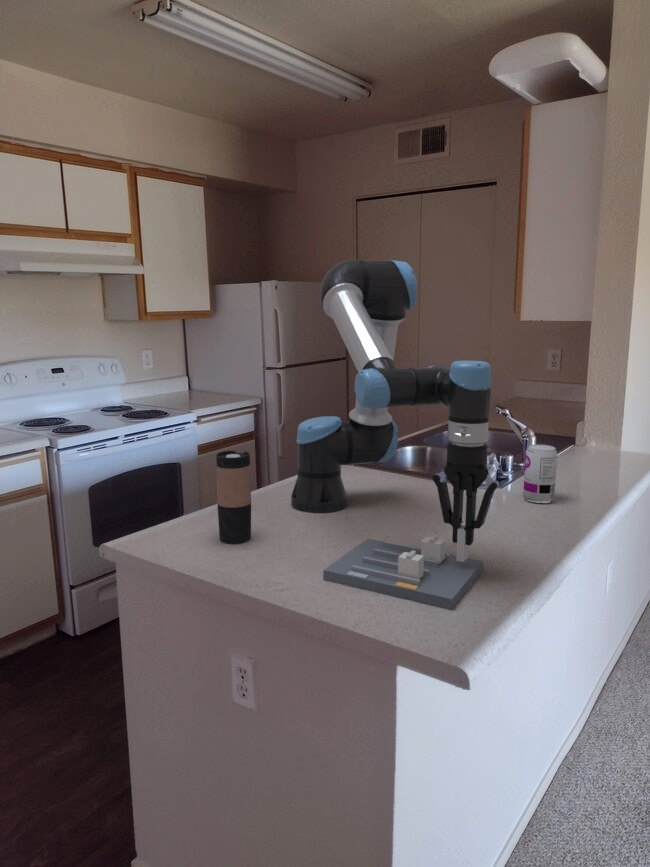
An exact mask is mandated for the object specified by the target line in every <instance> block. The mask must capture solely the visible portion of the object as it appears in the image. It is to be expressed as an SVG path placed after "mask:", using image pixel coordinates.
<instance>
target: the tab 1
mask: <svg viewBox="0 0 650 867" xmlns="http://www.w3.org/2000/svg"><path fill="white" fill-rule="evenodd" d="M423 571H424V556H423V555H418V554H416V551H413V550H412V551H411V552H410V553H408V552H403V553H402V554H401V555H400V556H399V557H398V575H401V576H406V577H410V578H415V579H420V578H421V577H422V576H423Z"/></svg>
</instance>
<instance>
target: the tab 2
mask: <svg viewBox="0 0 650 867" xmlns="http://www.w3.org/2000/svg"><path fill="white" fill-rule="evenodd" d="M420 542H421V544H420V546H421V547H420V548H421V555H423V556H424V559H429V560H434V561H439V564H440V563H441V562H442V561H443V560H444V559H445V553H446V539H441V538H439V535H435V534H434V535H432V536H431V537H430V536H426V537H424V539H422V540H421V541H420Z"/></svg>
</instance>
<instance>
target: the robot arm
mask: <svg viewBox="0 0 650 867" xmlns="http://www.w3.org/2000/svg"><path fill="white" fill-rule="evenodd" d="M418 289H419V288H418V282H417V276H416V275H415V271H414V269H413V267H412V266H411V265H410V264H409V263H408V262H406V261H401V260H395V259H346V260H342V261H341V262H338V263H337V264H335V265H333V267H331V268H330V269H329V270H328V271H327V273H326V274H325V276H324V277H323V279H322V281H321V284H320V288H319V301H320V304H321V307H322V309H323V311H324V313H325V314H326V316H327V317H329V318H331V319H332V320H333V322H334V324H335V326H336V328H337V330H338V332H339V335H340V337H341V338H342V340H343V343H344V345H345V347H346V349H347V352H348V354H349V356H350V358H351V360H352V362H353V365H354V366H355V369H356V370H357V373H356V376H355V378H354V393H355V404H354V405H355V407H354V408H353V409H351V411H349V413H348V421H342V419H341V418H340V417H339V416H333V415H331V416H317V417H313V418H309V419H306V420H304V421H302V422H300V423H299V425H298V427H297V434H296V444H297V445H296V447H297V449H296V452H297V453H296V454H297V459H296V460H297V462H296V463H297V468H296V469H297V478H296V480H295V483H294V487H293V489H292V493H291V498H290V501H291V502H290V505H291V507H292V508H294V509H296V510H299V511H301V512H302V511H303V512H309V513H330V512H336V511H340V510H343V509H345V507H347V506H348V494H347V492H346V491H347V490H346V489H345V486H344V482H343V479H342V471H341V470H342V466H348V465H349V466H350V465H361V464H362V465H364V464H378V463H382V462H387V461H389V460H390V459H392V457H394V455H395V452H397V447H398V444H399V435H398V432H399V430H398V426H397V424H396V422H395V421H394V420H393V416H392V415H391V414H390V413H389V412H388V409H389V408H396V407H415V406H416V407H418V406H419V407H420V406H437V405H439V406H440V405H441V406H445V407H448V417H447V418H448V423H447V440H448V441H449V442H448V443H447V445H446V463H445V464H446V465H445V466H444V468H443V470H442V471H440V472H437V473H435V474H434V475H432V480H433V482H434V485H435V486H436V489H437V494H438V499H439V504H440V509H441V514H442V520H443V522H444V523H445V524H449V525H450V526H451V527H452V543H454V544H456V554H455V555H456V561H461V562H464V561H465V560H466V559H467V558H469V546H472V544H473V542H474V538H475V537H474V536H475V530H476V529H481V527H482V526H483V525H484V524H485V522H486V518H487V515H488V512H489V509H490V506H491V502H492V499H493V497H494V493H495V491H496V490H497V489H498V488H499V486H500V484H501V481H500V480H498V479H493V477H491V476H490V474H489V469H488V467H487V465H488V464H487V462H488V445H487V442H488V441H489V421H490V420H489V418H490V410H491V409H490V407H491V392H492V384H493V383H492V372H491V371H492V370H491V369H492V367H491V365H490V364H489V362H487V361H482V360H455V361H453V362H452V363H451V364H450V367H449V366H446V365H443V364H442V365H430V366H428V367H406V368H405V367H404V368H402V367H401V368H399V367H398V366H397V365H396V362H395V361H394V360H395V351H396V344H397V336H398V335H397V334H398V329H399V324H401V323H402V322H403V321H405V320H406V312H407V311H409V310H412V309H413V308H414V307H415V305H416V303H417V301H418ZM447 479H448V480H447ZM447 481H449V482H450V484H451V486H452V487H453V489H452V494H453V500H452V501H453V503H451V498H450V493H449V488H448V482H447ZM484 482H485V484H484V487H485V491H484V494H483V497H482V500H481V504H480V507H479V509H478V513H477V512H476V511H477V509H476V508H477V493H478V489H479V488H480V486H481V485H482V484H483V483H484ZM464 491H465V496H466V502H465V503H466V504H465V505H466V506H465V525H464V524H463V523H464V520H463V508H464V507H463V506H464ZM476 513H477V516H476ZM462 524H463V525H462Z"/></svg>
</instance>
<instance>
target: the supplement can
mask: <svg viewBox="0 0 650 867" xmlns="http://www.w3.org/2000/svg"><path fill="white" fill-rule="evenodd" d="M524 460H525V461H524V476H523V491H522V497H523V499H527V500H530V501H539V502H540V501H541V502H542V501H550V500H553V499H554V500H555V491H556V480H557V479H556V478H557V464H558V451H557V449H556V447H555V446H552V445H548V444H530V445H528V447H527V449H526V451H525V459H524ZM554 500H553V501H554Z"/></svg>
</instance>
